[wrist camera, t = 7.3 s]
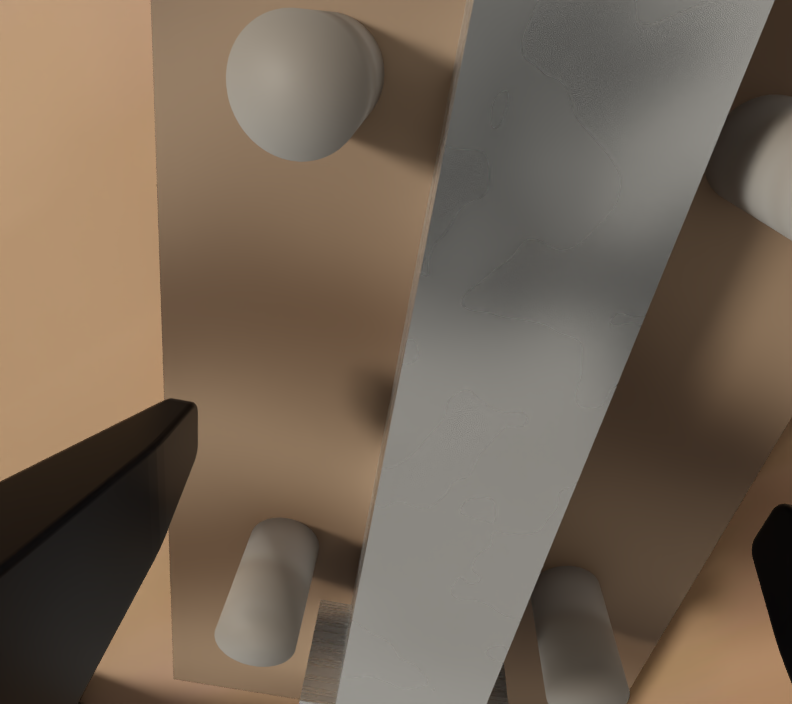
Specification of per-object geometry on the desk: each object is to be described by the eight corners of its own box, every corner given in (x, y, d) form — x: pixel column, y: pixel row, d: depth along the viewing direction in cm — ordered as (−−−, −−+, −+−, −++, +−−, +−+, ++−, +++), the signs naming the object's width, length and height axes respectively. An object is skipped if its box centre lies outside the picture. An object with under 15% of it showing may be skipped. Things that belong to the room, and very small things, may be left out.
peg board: (584, 695, 18) (618, 854, 15) (193, 631, 18) (133, 778, 14) (1128, -319, 8) (1717, -611, 4) (185, -510, 7) (-48, -997, 4)
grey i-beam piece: (473, 699, 16) (478, 805, 14) (309, 673, 16) (289, 774, 14) (865, -309, 7) (1070, -469, 5) (471, -389, 7) (487, -591, 4)
